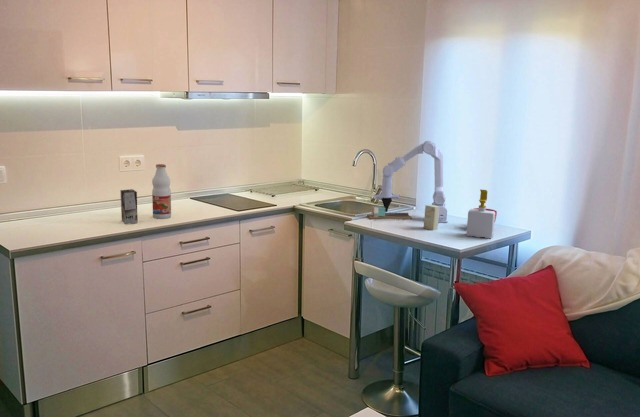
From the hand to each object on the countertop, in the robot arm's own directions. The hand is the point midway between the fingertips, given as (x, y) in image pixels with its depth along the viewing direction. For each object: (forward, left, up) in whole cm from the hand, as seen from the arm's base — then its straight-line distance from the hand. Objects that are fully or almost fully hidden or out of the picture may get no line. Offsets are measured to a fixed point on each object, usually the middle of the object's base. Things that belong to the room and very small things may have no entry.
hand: (385, 211), depth 325 cm
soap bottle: (-45, -35, -4) cm, 57 cm away
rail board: (0, -2, -3) cm, 4 cm away
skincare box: (-28, -16, -4) cm, 32 cm away
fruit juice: (+6, +121, -4) cm, 121 cm away
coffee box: (-5, +136, -4) cm, 136 cm away
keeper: (0, +3, -2) cm, 4 cm away
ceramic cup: (-29, -43, -4) cm, 52 cm away
